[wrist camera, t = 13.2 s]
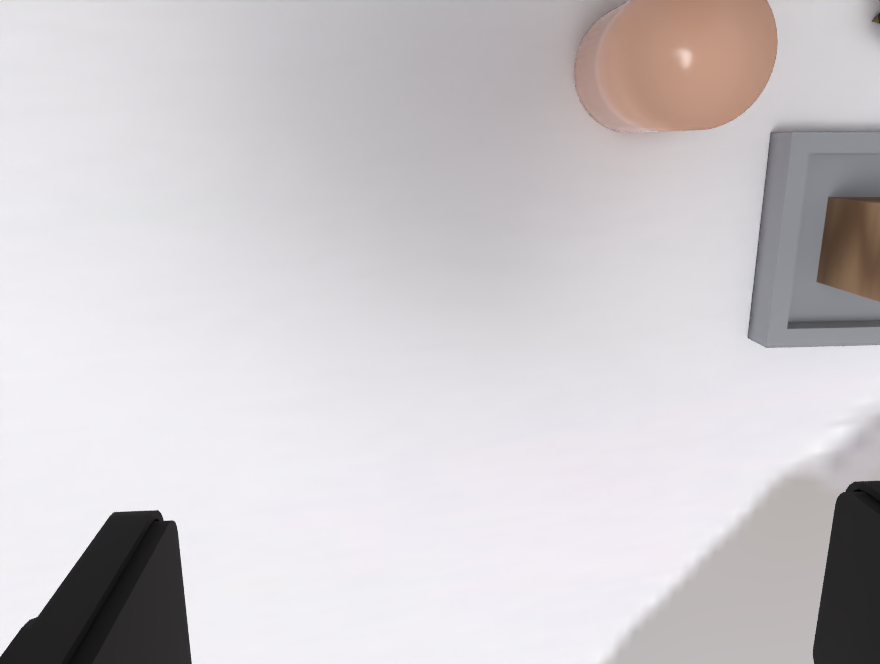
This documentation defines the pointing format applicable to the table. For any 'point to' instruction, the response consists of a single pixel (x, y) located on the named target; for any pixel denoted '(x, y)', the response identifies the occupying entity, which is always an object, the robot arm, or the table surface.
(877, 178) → the tray
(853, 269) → the walnut block
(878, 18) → the game die
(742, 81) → the peach round domed cylinder
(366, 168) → the table surface
